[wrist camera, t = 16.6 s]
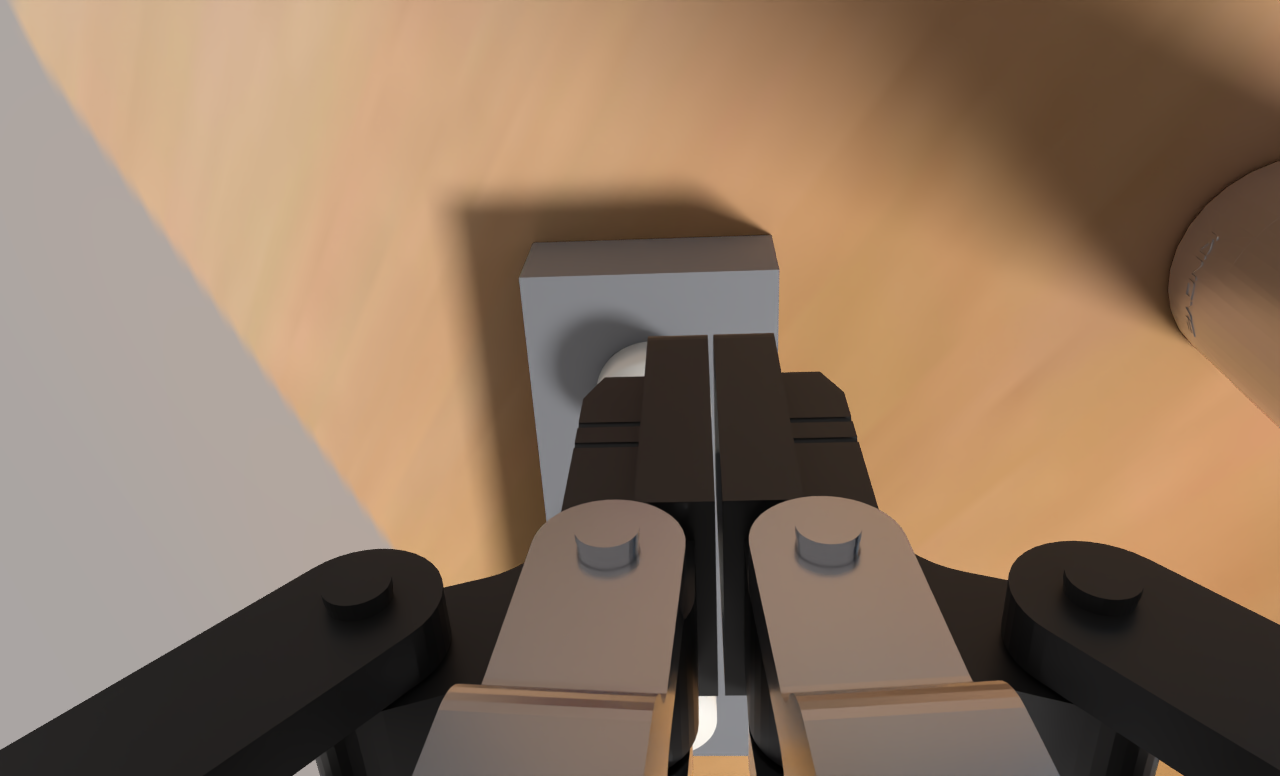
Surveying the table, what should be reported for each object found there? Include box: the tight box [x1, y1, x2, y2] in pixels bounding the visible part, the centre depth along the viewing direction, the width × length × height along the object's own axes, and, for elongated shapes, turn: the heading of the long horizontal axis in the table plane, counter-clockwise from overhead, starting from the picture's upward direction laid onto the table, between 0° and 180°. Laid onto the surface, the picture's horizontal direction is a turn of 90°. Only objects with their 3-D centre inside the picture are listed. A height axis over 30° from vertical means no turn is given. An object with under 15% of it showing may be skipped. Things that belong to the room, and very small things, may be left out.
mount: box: [519, 235, 779, 756], centre depth 46 cm, size 10×26×4 cm, turn 3°
